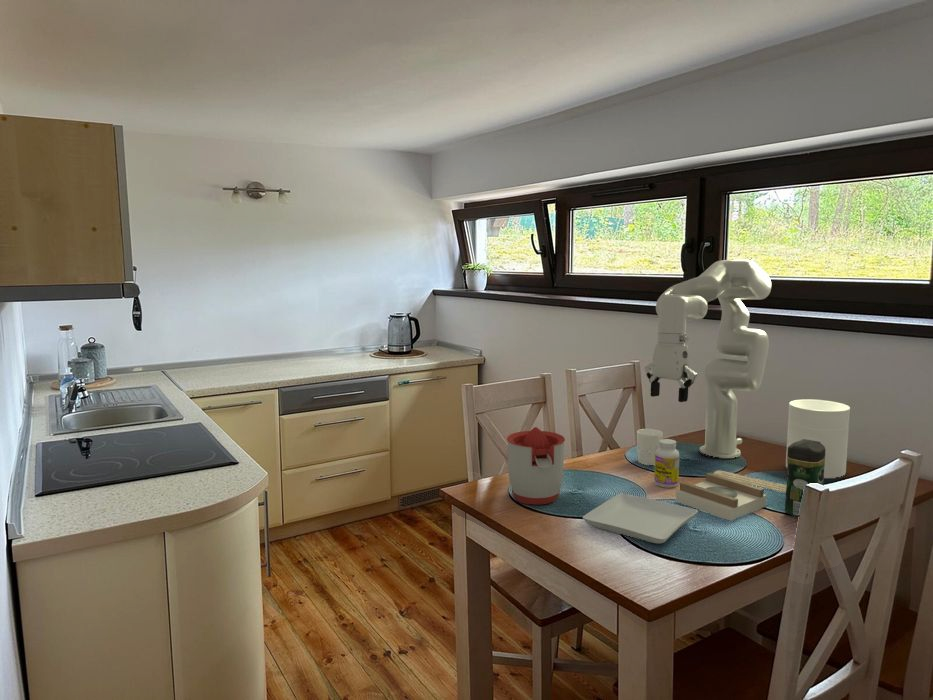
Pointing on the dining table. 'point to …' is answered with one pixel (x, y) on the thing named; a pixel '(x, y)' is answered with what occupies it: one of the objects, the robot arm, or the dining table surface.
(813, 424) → the canister
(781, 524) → the dining table surface
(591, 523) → the salad plate
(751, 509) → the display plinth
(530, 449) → the citrus juicer
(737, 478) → the wooden plank
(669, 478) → the supplement bottle
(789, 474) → the coffee jar
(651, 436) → the white cup
